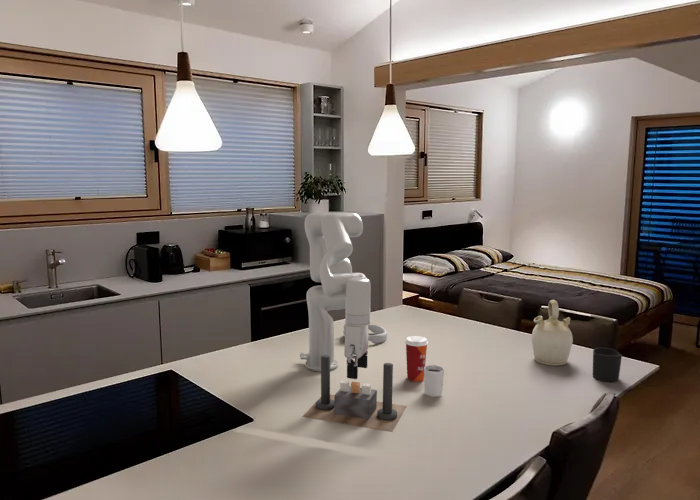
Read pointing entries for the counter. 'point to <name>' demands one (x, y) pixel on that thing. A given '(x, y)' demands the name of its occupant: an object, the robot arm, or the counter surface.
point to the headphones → (377, 330)
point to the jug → (552, 338)
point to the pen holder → (606, 364)
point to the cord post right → (387, 395)
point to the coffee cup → (416, 357)
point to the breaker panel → (357, 420)
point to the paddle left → (344, 385)
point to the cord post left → (325, 386)
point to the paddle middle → (355, 387)
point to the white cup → (433, 380)
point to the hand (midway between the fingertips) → (357, 372)
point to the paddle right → (366, 389)
